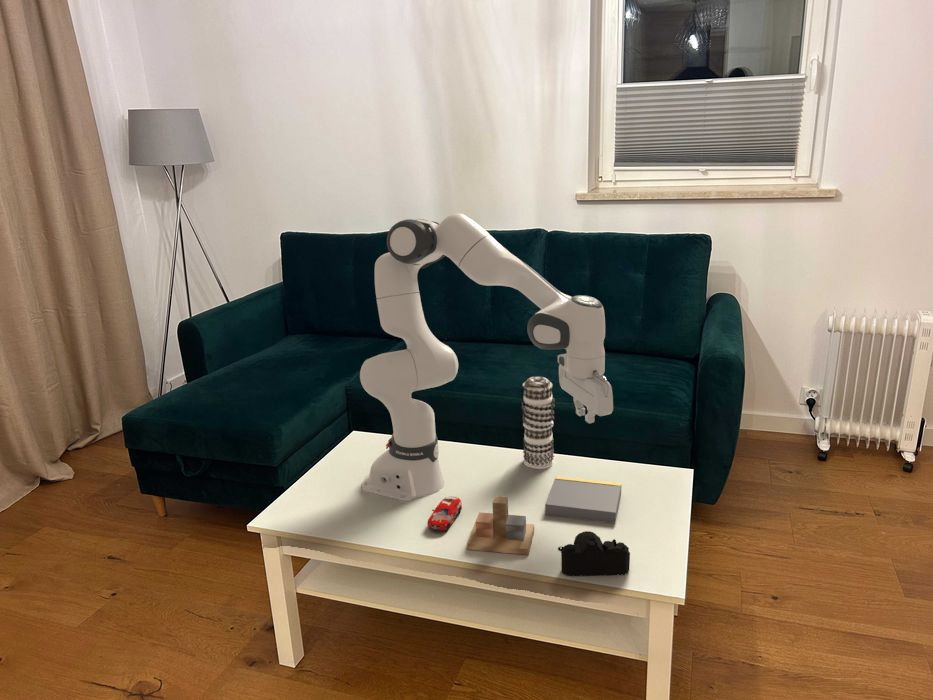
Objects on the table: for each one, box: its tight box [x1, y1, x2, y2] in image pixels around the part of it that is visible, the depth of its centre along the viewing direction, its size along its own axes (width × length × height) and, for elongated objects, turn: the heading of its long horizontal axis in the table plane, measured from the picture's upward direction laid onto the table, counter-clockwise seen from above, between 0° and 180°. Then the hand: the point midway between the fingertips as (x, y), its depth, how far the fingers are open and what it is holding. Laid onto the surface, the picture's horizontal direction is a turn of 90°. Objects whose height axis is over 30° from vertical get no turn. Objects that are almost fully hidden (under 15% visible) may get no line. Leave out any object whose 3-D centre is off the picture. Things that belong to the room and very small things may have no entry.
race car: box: [426, 496, 463, 532], centre depth 176 cm, size 13×5×4 cm, turn 159°
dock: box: [544, 475, 622, 524], centre depth 181 cm, size 17×14×3 cm
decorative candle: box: [520, 375, 556, 470], centre depth 199 cm, size 9×9×25 cm
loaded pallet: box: [466, 495, 535, 556], centre depth 166 cm, size 14×10×12 cm
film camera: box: [557, 530, 631, 577], centre depth 156 cm, size 15×10×9 cm, turn 88°
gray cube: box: [506, 514, 527, 541], centre depth 165 cm, size 4×4×4 cm
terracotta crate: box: [475, 511, 494, 538], centre depth 167 cm, size 4×4×4 cm
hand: (585, 418), depth 174 cm, fingers open, 3 cm apart
